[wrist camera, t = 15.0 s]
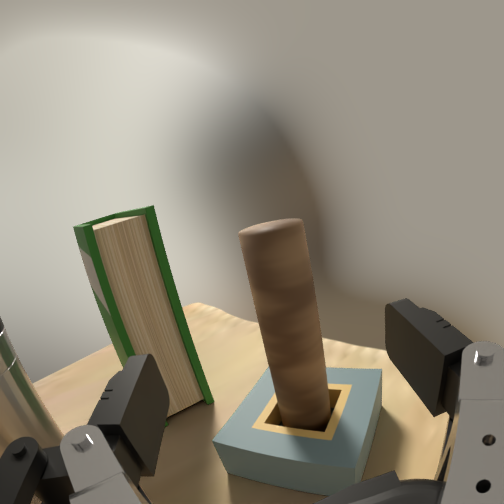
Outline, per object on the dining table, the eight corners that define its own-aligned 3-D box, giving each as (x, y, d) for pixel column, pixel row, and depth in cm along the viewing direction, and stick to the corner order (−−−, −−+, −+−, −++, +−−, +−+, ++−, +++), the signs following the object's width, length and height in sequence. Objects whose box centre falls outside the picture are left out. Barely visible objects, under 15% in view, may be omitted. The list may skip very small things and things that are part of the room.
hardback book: (214, 401, 36) (153, 205, 30) (161, 428, 32) (82, 226, 26) (163, 353, 50) (118, 212, 45) (124, 370, 46) (73, 226, 41)
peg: (279, 448, 25) (226, 238, 21) (296, 417, 29) (255, 222, 24) (324, 455, 23) (289, 231, 19) (338, 422, 27) (310, 216, 22)
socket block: (227, 472, 24) (211, 440, 23) (278, 396, 34) (270, 363, 33) (354, 499, 19) (355, 468, 17) (381, 404, 29) (382, 369, 27)
